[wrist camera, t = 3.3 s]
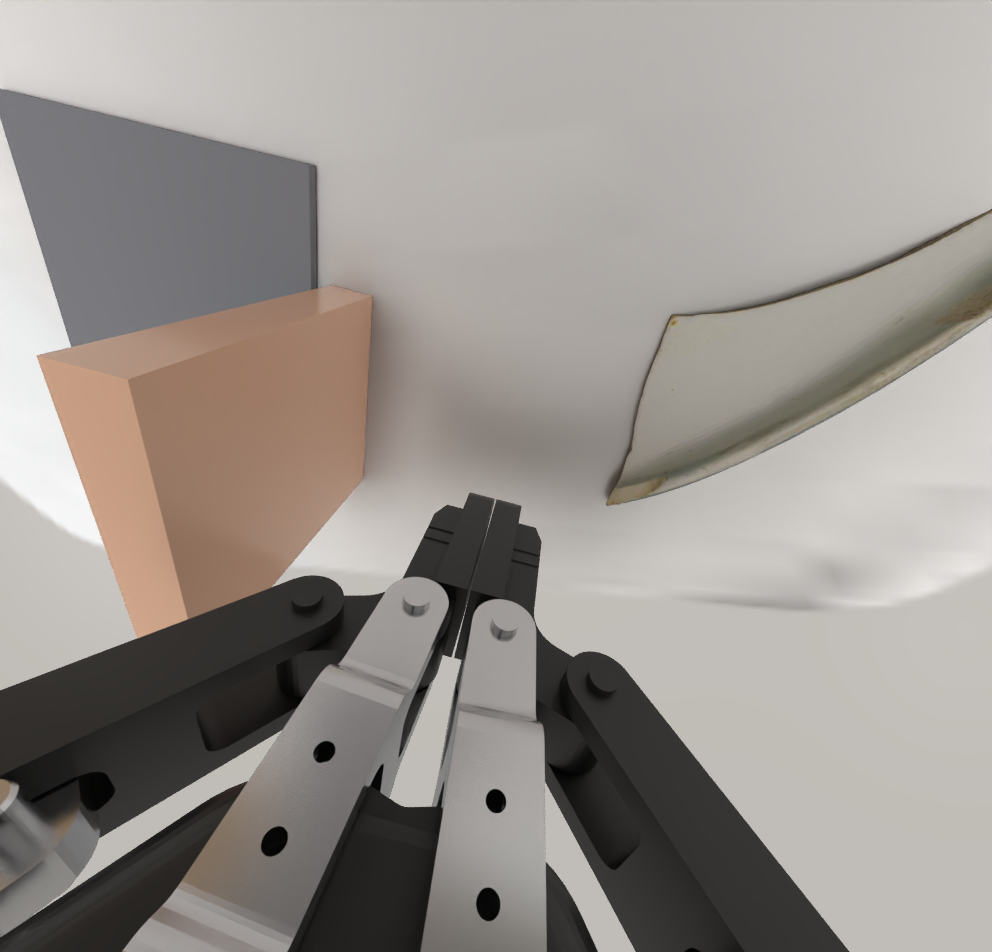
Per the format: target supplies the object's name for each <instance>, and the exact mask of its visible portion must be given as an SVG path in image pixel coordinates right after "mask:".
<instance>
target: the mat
mask: <svg viewBox="0 0 992 952" xmlns="http://www.w3.org/2000/svg"><path fill="white" fill-rule="evenodd" d="M0 118H1V121H2V125H3V128H4V131H5V134H6V138H7V141H8V144H9V147H10V150H11V154H12V157H13V160H14V163H15V167H16V170H17V173H18V176H19V179H20V183H21V186H22V189H23V192H24V196H25V199H26V202H27V205H28V209H29V212H30V215H31V218H32V221H33V225H34V228H35V231H36V234H37V238H38V241H39V244H40V247H41V250H42V254H43V257H44V260H45V263H46V267H47V270H48V273H49V276H50V279H51V283H52V286H53V289H54V292H55V296H56V299H57V302H58V305H59V309H60V312H61V315H62V318H63V321H64V325H65V328H66V331H67V334H68V338H69V341H70V344H71V347H74V346H79V345H83V344H87V343H91V342H95V341H100V340H104V339H108V338H112V337H116V336H120V335H125V334H129V333H133V332H137V331H141V330H146V329H150V328H154V327H158V326H162V325H166V324H171V323H175V322H179V321H183V320H187V319H191V318H196V317H200V316H204V315H208V314H212V313H217V312H221V311H225V310H229V309H233V308H237V307H242V306H246V305H250V304H254V303H258V302H263V301H267V300H271V299H275V298H279V297H283V296H288V295H292V294H296V293H300V292H304V291H308V290H313V289H317V257H316V166H314V165H310V164H306V163H301V162H297V161H293V160H289V159H285V158H281V157H277V156H273V155H269V154H265V153H261V152H256V151H252V150H248V149H244V148H240V147H236V146H232V145H228V144H224V143H220V142H216V141H212V140H207V139H203V138H199V137H195V136H191V135H187V134H183V133H179V132H175V131H171V130H167V129H162V128H158V127H154V126H150V125H146V124H142V123H138V122H134V121H130V120H126V119H122V118H117V117H113V116H109V115H105V114H101V113H97V112H93V111H89V110H85V109H81V108H77V107H72V106H68V105H64V104H60V103H56V102H52V101H48V100H44V99H40V98H36V97H32V96H27V95H23V94H19V93H15V92H11V91H7V90H3V89H0Z"/></svg>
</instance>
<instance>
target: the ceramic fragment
mask: <svg viewBox="0 0 992 952" xmlns="http://www.w3.org/2000/svg"><path fill="white" fill-rule="evenodd" d="M991 317H992V209H991V210H989V211H988V212H986V213H984V214H982V215H980V216H978V217H976V218H974V219H971V220H969V221H967V222H965V223H964V224H962V225H960V226H958V227H956V228H954V229H952V230H950V231H949V232H947V233H945V234H943V235H941V236H940V237H937V238H935V239H933V240H931V241H929V242H927V243H925V244H923V245H922V246H920V247H918V248H915V249H913V250H911V251H910V252H908V253H906V254H905V255H903V256H902V257H900V258H899V259H896V260H894V261H892V262H890V263H887V264H885V265H883V266H880V267H878V268H875V269H873V270H870V271H868V272H865V273H863V274H859V275H856V276H853V277H850V278H847V279H844V280H841V281H838V282H835V283H832V284H829V285H826V286H823V287H820V288H817V289H815V290H812V291H809V292H805V293H802V294H799V295H795V296H793V297H790V298H787V299H783V300H779V301H775V302H771V303H767V304H763V305H758V306H754V307H749V308H744V309H738V310H733V311H726V312H718V313H706V314H698V315H671V318H670V320H669V323H668V325H667V328H666V331H665V333H664V335H663V338H662V341H661V343H660V346H659V349H658V351H657V354H656V357H655V359H654V362H653V365H652V368H651V370H650V373H649V375H648V378H647V381H646V384H645V386H644V390H643V395H642V397H641V400H640V405H639V408H638V414H637V417H636V421H635V425H634V435H633V441H632V445H631V449H630V452H629V454H628V456H627V458H626V462H625V465H624V468H623V472H622V475H621V477H620V479H619V481H618V482H617V485H616V486H615V488H614V489H613V491H612V493H611V495H610V497H609V499H608V501H607V503H606V505H607V506H609V505H615V504H621V503H626V502H630V501H635V500H639V499H643V498H647V497H651V496H655V495H658V494H661V493H664V492H668V491H671V490H674V489H677V488H680V487H683V486H686V485H689V484H691V483H694V482H697V481H699V480H702V479H704V478H707V477H709V476H712V475H714V474H717V473H719V472H721V471H723V470H726V469H728V468H730V467H732V466H735V465H737V464H739V463H742V462H744V461H746V460H748V459H750V458H752V457H755V456H757V455H759V454H761V453H763V452H765V451H767V450H769V449H771V448H773V447H775V446H777V445H779V444H781V443H783V442H785V441H787V440H789V439H791V438H793V437H795V436H797V435H799V434H801V433H803V432H805V431H807V430H808V429H810V428H812V427H814V426H816V425H818V424H820V423H822V422H824V421H826V420H827V419H829V418H831V417H833V416H835V415H837V414H839V413H840V412H842V411H844V410H846V409H847V408H849V407H851V406H853V405H854V404H856V403H858V402H859V401H861V400H863V399H865V398H866V397H868V396H870V395H872V394H873V393H875V392H877V391H879V390H880V389H882V388H884V387H885V386H887V385H888V384H890V383H892V382H893V381H895V380H896V379H898V378H900V377H901V376H903V375H904V374H906V373H907V372H909V371H911V370H912V369H914V368H915V367H917V366H919V365H920V364H922V363H923V362H925V361H926V360H928V359H930V358H931V357H933V356H934V355H936V354H937V353H939V352H941V351H942V350H944V349H945V348H947V347H948V346H950V345H951V344H953V343H954V342H956V341H957V340H959V339H960V338H962V337H963V336H965V335H966V334H968V333H969V332H970V331H972V330H973V329H975V328H976V327H978V326H979V325H981V324H982V323H984V322H985V321H987V320H988V319H990V318H991Z"/></svg>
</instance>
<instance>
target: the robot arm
mask: <svg viewBox="0 0 992 952" xmlns="http://www.w3.org/2000/svg"><path fill="white" fill-rule="evenodd" d="M494 500H495V499H493V498H489V497H485V496H482V495H478V494H474V493H469V496H468V498H467V501H466V503H465V506H464V508H463V509H461V508H457V507H454V506H450V505H446V506H445V507H443V508H442V509H441V510H439V511H438V512H436V513H435V514H434V516H433V518H432V520H431V522H430V524H429V527H428V528H427V530H426V532H425V534H424V537H423V539H422V541H421V543H420V545H419V547H418V549H417V551H416V553H415V555H414V557H413V559H412V561H411V563H410V565H409V567H408V569H407V571H406V573H405V575H404V577H403V579H401V580H399V581H397V582H395V583H393V584H392V585H391V586H390V587H389V588H388V589H387V591H386V592H383V593H380V594H376V595H367V596H344V594H343V591H342V589H341V587H340V586H339V585H338V584H337V583H336V582H334V581H333V580H331V579H329V578H326V577H322V576H303V577H299V578H296V579H293V580H290V581H287V582H285V583H282V584H280V585H277V586H274V587H271V588H269V589H266V590H264V591H261V592H258V593H256V594H253V595H250V596H248V597H245V598H243V599H240V600H237V601H235V602H232V603H229V604H227V605H224V606H221V607H219V608H216V609H214V610H211V611H208V612H206V613H203V614H200V615H198V616H195V617H193V618H190V619H187V620H185V621H182V622H179V623H177V624H174V625H171V626H169V627H166V628H164V629H161V630H158V631H156V632H153V633H150V634H148V635H145V636H143V637H140V638H137V639H135V640H132V641H129V642H127V643H124V644H121V645H119V646H116V647H114V648H111V649H108V650H106V651H103V652H101V653H98V654H95V655H92V656H90V657H88V658H85V659H82V660H79V661H77V662H74V663H72V664H69V665H66V666H64V667H61V668H58V669H56V670H53V671H50V672H48V673H45V674H42V675H40V676H37V677H35V678H32V679H29V680H27V681H24V682H21V683H19V684H16V685H14V686H11V687H8V688H6V689H3V690H0V952H598V951H597V949H596V947H595V944H594V942H593V940H592V938H591V936H590V933H589V931H588V929H587V927H586V925H585V922H584V920H583V918H582V916H581V914H580V912H579V910H578V908H577V906H576V904H575V902H574V901H573V899H572V897H571V895H570V893H569V892H568V890H567V888H566V887H565V885H564V884H563V882H562V881H561V880H560V878H559V877H558V876H557V874H556V873H555V872H554V870H553V869H552V868H551V867H550V866H549V865H548V864H547V863H546V842H545V841H546V838H545V782H546V784H547V786H548V788H549V789H550V791H551V793H552V795H553V797H554V799H555V800H556V803H557V805H558V806H559V808H560V810H561V812H562V814H563V816H564V818H565V820H566V821H567V823H568V825H569V827H570V829H571V831H572V833H573V835H574V836H575V838H576V840H577V842H578V844H579V846H580V848H581V849H582V851H583V853H584V855H585V857H586V859H587V861H588V863H589V865H590V867H591V868H592V870H593V872H594V874H595V876H596V878H597V880H598V881H599V883H600V885H601V887H602V889H603V891H604V893H605V895H606V896H607V898H608V900H609V902H610V904H611V906H612V908H613V910H614V912H615V913H616V915H617V917H618V919H619V921H620V923H621V925H622V927H623V928H624V930H625V932H626V934H627V936H628V938H629V940H630V942H631V943H632V945H633V947H634V949H635V951H636V952H849V951H848V949H847V948H846V947H845V946H844V945H843V943H842V942H841V941H840V939H839V938H838V937H837V936H836V934H835V933H834V932H833V931H832V929H831V928H830V927H829V926H828V924H827V923H826V922H825V921H824V919H823V918H822V917H821V916H820V914H819V913H818V912H817V911H816V909H815V908H814V907H813V905H812V904H811V903H810V902H809V900H808V899H807V898H806V897H805V895H804V894H803V893H802V892H801V890H800V889H799V888H798V887H797V885H796V884H795V883H794V882H793V880H792V879H791V878H790V876H789V875H788V874H787V873H786V871H785V870H784V869H783V868H782V866H781V865H780V864H779V863H778V862H777V860H776V859H775V858H774V857H773V855H772V854H771V853H770V851H769V850H768V849H767V848H766V846H765V845H764V844H763V842H762V841H761V840H760V839H759V837H758V836H757V835H756V834H755V832H754V831H753V830H752V829H751V828H750V826H749V825H748V824H747V822H746V821H745V820H744V819H743V817H742V816H741V815H740V814H739V812H738V811H737V810H736V809H735V807H734V806H733V805H732V803H730V801H729V800H728V798H727V797H726V796H725V795H724V793H723V792H722V791H721V790H720V789H719V787H718V786H717V785H716V783H715V782H714V781H713V780H712V778H711V777H710V776H709V775H708V773H707V772H706V771H705V769H703V767H702V766H701V765H700V763H699V762H698V761H697V760H696V758H695V757H694V756H693V754H692V753H691V752H690V751H689V749H688V748H687V747H686V746H685V745H684V743H683V742H682V741H681V739H680V738H679V737H678V736H677V734H676V733H675V732H674V730H673V729H672V728H671V727H670V725H669V724H668V723H667V722H666V720H665V719H664V718H663V717H662V715H661V714H660V713H659V712H658V710H657V709H656V708H655V707H654V705H653V704H652V703H651V702H650V700H649V699H648V698H647V697H646V695H645V694H644V693H643V691H642V690H641V689H640V688H639V687H638V685H637V684H636V683H635V681H634V680H633V679H632V678H631V677H630V675H629V674H628V673H627V671H626V670H625V669H624V668H623V667H622V666H621V665H620V664H619V663H618V662H616V661H615V660H614V659H612V658H610V657H609V656H607V655H604V654H601V653H598V652H583V653H580V654H578V655H576V656H575V657H572V656H570V655H569V654H567V653H565V652H564V651H562V650H560V649H559V648H557V647H555V646H554V645H552V644H551V643H550V642H549V641H548V640H546V638H545V637H544V636H543V635H542V634H541V632H540V631H539V629H538V627H537V626H536V623H535V619H534V606H535V605H534V604H535V596H536V587H537V578H538V567H539V560H540V558H539V557H540V550H541V539H540V537H539V535H538V533H537V530H536V528H534V527H530V526H526V525H522V524H519V523H518V522H519V517H520V511H521V506H520V505H516V504H513V503H509V502H505V501H501V500H496V504H495V507H494V511H493V514H492V518H491V521H490V517H491V513H492V508H493V504H494ZM489 521H490V525H489ZM488 525H489V528H488ZM487 529H488V532H487ZM486 533H487V535H486ZM485 537H486V538H485ZM484 541H485V542H484ZM468 598H469V599H468ZM467 602H468V603H467ZM466 605H467V607H466ZM465 609H466V611H465ZM464 612H465V615H464ZM463 616H464V619H463ZM462 619H463V623H462V628H461V632H460V636H459V640H458V644H457V649H456V652H455V658H457V659H460V660H462V661H461V665H460V669H459V673H458V676H457V681H456V684H455V689H454V692H453V698H452V703H451V709H450V715H449V720H448V726H447V731H446V736H445V743H444V748H443V754H442V759H441V764H440V770H439V775H438V780H437V786H436V790H435V794H434V799H433V804H432V807H403V806H400V805H399V804H397V803H395V802H394V801H392V800H391V799H389V797H390V794H391V791H392V788H393V785H394V781H395V778H396V775H397V772H398V769H399V766H400V763H401V761H402V758H403V756H404V753H405V751H406V748H407V746H408V743H409V741H410V738H411V736H412V733H413V731H414V728H415V726H416V723H417V721H418V718H419V716H420V714H421V711H422V708H423V706H424V704H425V701H426V699H427V696H428V693H429V691H430V689H431V686H432V683H433V680H434V678H435V677H436V674H437V672H438V669H439V665H440V662H441V659H442V656H443V655H445V656H449V657H452V654H453V650H454V647H455V643H456V640H457V636H458V633H459V629H460V626H461V622H462ZM281 730H282V731H281ZM279 731H281V733H280V734H279V736H278V738H277V739H276V740H275V742H274V743H273V745H272V746H271V748H270V749H269V751H268V752H267V754H266V755H265V757H264V758H263V760H262V761H261V763H260V764H259V766H258V767H257V769H256V770H255V772H254V773H253V775H252V776H251V778H250V779H249V781H247V782H244V783H242V784H239V785H237V786H234V787H232V788H229V789H227V790H225V791H224V792H222V793H220V794H218V795H216V796H214V797H212V798H210V799H209V800H207V801H206V802H204V803H202V804H201V805H199V806H198V807H196V808H195V809H193V810H192V811H190V812H189V813H187V814H186V815H184V816H183V817H181V818H180V819H178V820H177V821H175V822H174V823H172V824H171V825H169V826H168V827H166V828H165V829H163V830H162V831H160V832H159V833H157V834H156V835H154V836H153V837H151V838H150V839H148V840H147V841H145V842H144V843H142V844H141V845H139V846H138V847H136V848H135V849H133V850H132V851H130V852H128V853H127V854H125V855H124V856H122V857H121V858H119V859H118V860H116V861H115V862H113V863H112V864H111V865H109V866H107V867H106V868H104V869H103V870H101V871H100V872H98V873H97V874H96V875H94V876H92V877H91V878H89V879H88V880H86V881H85V882H83V883H82V884H80V885H79V886H77V887H76V888H74V889H73V890H71V891H70V892H68V893H67V894H65V895H64V896H63V897H61V898H59V899H58V900H56V901H55V902H53V903H52V904H50V905H49V906H47V907H46V908H44V909H42V910H41V911H39V910H40V909H41V908H43V907H44V906H45V905H47V904H48V903H49V902H51V901H52V900H53V899H55V898H56V897H58V896H59V895H61V894H62V893H63V892H65V891H66V890H67V889H68V888H69V887H70V886H71V885H72V883H73V882H74V880H75V879H76V878H77V877H78V875H79V874H80V873H81V872H82V870H83V869H84V868H85V866H86V865H87V863H88V861H89V860H90V858H91V857H92V855H93V852H94V850H95V848H96V846H97V843H98V840H99V838H100V837H102V836H104V835H105V834H107V833H109V832H110V831H112V830H114V829H116V828H117V827H119V826H120V825H122V824H124V823H126V822H127V821H129V820H131V819H132V818H134V817H136V816H138V815H139V814H141V813H143V812H144V811H146V810H148V809H149V808H151V807H153V806H154V805H156V804H158V803H159V802H161V801H163V800H165V799H166V798H168V797H170V796H171V795H173V794H174V793H176V792H178V791H180V790H181V789H183V788H185V787H187V786H188V785H190V784H192V783H193V782H195V781H197V780H198V779H200V778H201V777H203V776H205V775H207V774H208V773H210V772H211V771H213V770H215V769H217V768H218V767H220V766H222V765H224V764H225V763H227V762H228V761H230V760H232V759H234V758H236V757H237V756H239V755H240V754H242V753H244V752H246V751H247V750H249V749H251V748H252V747H254V746H256V745H257V744H259V743H261V742H262V741H264V740H266V739H268V738H269V737H271V736H273V735H274V734H276V733H278V732H279ZM37 911H39V912H38V913H36V912H37ZM35 913H36V914H35ZM34 914H35V915H34ZM32 915H33V916H32ZM31 916H32V917H31Z"/></svg>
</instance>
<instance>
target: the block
mask: <svg viewBox="0 0 992 952" xmlns="http://www.w3.org/2000/svg"><path fill="white" fill-rule="evenodd" d="M372 301H373V296H371V295H367V294H363V293H359V292H356V291H352V290H348V289H344V288H340V287H336V286H332V285H329V286H325V287H321V288H317V289H313V290H308V291H304V292H300V293H296V294H292V295H288V296H283V297H279V298H275V299H271V300H267V301H263V302H258V303H254V304H250V305H246V306H242V307H237V308H233V309H229V310H225V311H221V312H217V313H212V314H208V315H204V316H200V317H196V318H191V319H187V320H183V321H179V322H175V323H171V324H166V325H162V326H158V327H154V328H150V329H146V330H141V331H137V332H133V333H129V334H125V335H120V336H116V337H112V338H108V339H104V340H100V341H95V342H91V343H87V344H83V345H79V346H74V347H70V348H66V349H62V350H58V351H54V352H49V353H45V354H41V355H37V358H38V361H39V363H40V366H41V369H42V372H43V375H44V378H45V380H46V383H47V386H48V389H49V392H50V394H51V397H52V400H53V403H54V406H55V408H56V411H57V414H58V417H59V420H60V422H61V425H62V428H63V431H64V434H65V436H66V439H67V442H68V445H69V448H70V450H71V453H72V456H73V459H74V462H75V465H76V467H77V470H78V473H79V476H80V479H81V481H82V484H83V487H84V490H85V493H86V495H87V498H88V501H89V504H90V507H91V509H92V512H93V515H94V518H95V521H96V523H97V526H98V529H99V532H100V535H101V538H102V540H103V543H104V546H105V549H106V551H107V554H108V557H109V560H110V563H111V566H112V568H113V571H114V574H115V577H116V580H117V582H118V585H119V588H120V591H121V594H122V596H123V599H124V602H125V605H126V608H127V610H128V613H129V616H130V619H131V622H132V625H133V627H134V630H135V633H136V636H137V638H140V637H143V636H145V635H148V634H150V633H153V632H156V631H158V630H161V629H164V628H166V627H169V626H171V625H174V624H177V623H179V622H182V621H185V620H187V619H190V618H193V617H195V616H198V615H200V614H203V613H206V612H208V611H211V610H214V609H216V608H219V607H221V606H224V605H227V604H229V603H232V602H235V601H237V600H240V599H243V598H245V597H248V596H250V595H253V594H256V593H258V592H261V591H264V590H266V589H269V588H271V587H272V586H273V585H274V584H275V583H276V581H277V580H278V579H279V578H280V577H281V575H282V574H283V573H284V572H285V571H286V569H287V568H288V567H289V566H290V565H291V564H292V562H293V561H294V560H295V559H296V558H297V556H298V555H299V554H300V553H301V552H302V551H303V549H304V548H305V547H306V546H307V545H308V543H309V542H310V541H311V540H312V539H313V538H314V536H315V535H316V534H317V533H318V532H319V530H320V529H321V528H322V527H323V526H324V525H325V523H326V522H327V521H328V520H329V519H330V517H331V516H332V515H333V514H334V513H335V511H336V510H337V509H338V508H339V507H340V506H341V504H342V503H343V502H344V501H345V500H346V498H347V497H348V496H349V495H350V494H351V493H352V491H353V490H354V489H355V488H356V487H357V485H358V484H359V483H360V482H361V481H362V480H363V471H364V453H365V434H366V415H367V396H368V377H369V358H370V339H371V320H372Z"/></svg>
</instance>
